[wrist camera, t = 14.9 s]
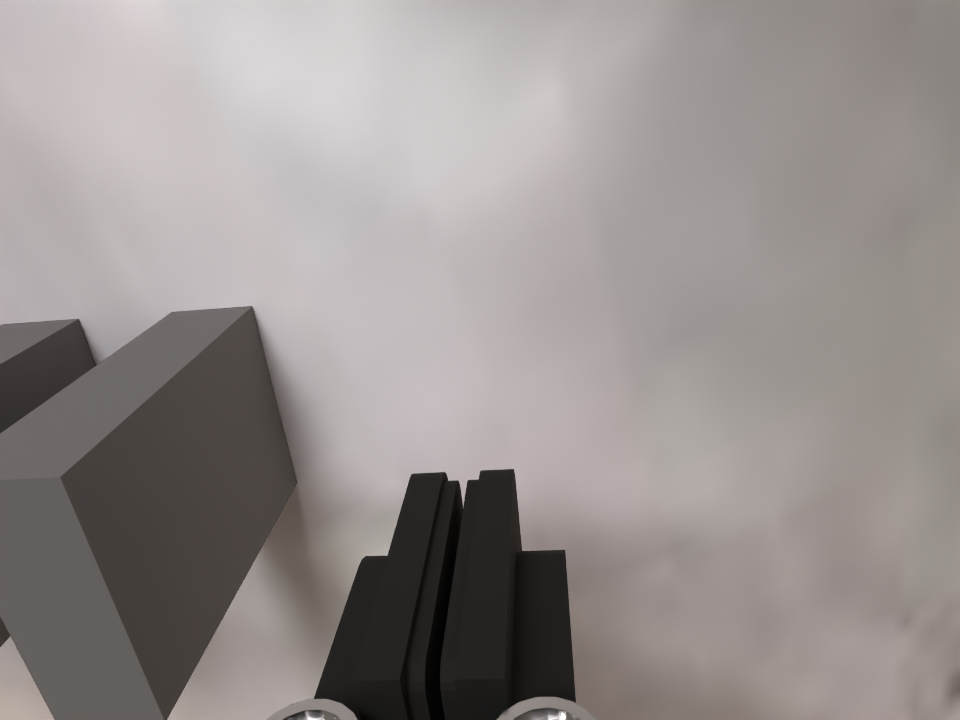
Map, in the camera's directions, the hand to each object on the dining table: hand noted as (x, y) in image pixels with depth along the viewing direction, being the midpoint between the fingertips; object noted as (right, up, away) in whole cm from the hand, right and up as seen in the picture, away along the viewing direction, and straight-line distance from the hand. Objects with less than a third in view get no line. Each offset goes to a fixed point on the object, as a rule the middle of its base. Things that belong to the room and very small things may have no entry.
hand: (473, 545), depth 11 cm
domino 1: (-6, +2, +6) cm, 9 cm away
